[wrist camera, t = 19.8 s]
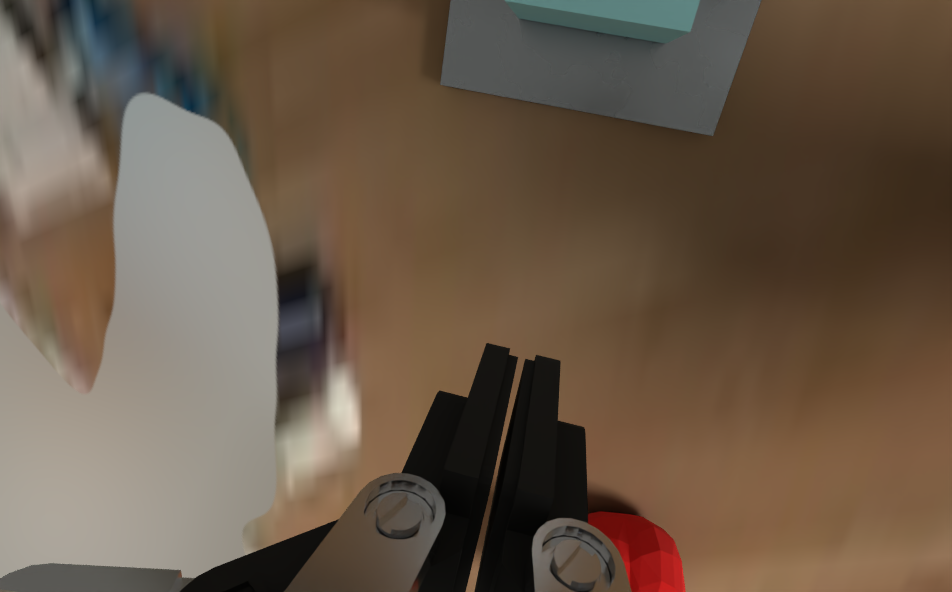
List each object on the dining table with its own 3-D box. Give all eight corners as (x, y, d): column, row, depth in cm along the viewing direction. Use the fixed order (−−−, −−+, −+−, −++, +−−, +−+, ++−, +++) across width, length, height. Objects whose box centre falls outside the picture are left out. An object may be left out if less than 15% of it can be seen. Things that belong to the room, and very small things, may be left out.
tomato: (705, 547, 41) (743, 681, 32) (585, 598, 46) (588, 726, 37) (621, 460, 39) (636, 576, 30) (506, 523, 44) (488, 639, 35)
